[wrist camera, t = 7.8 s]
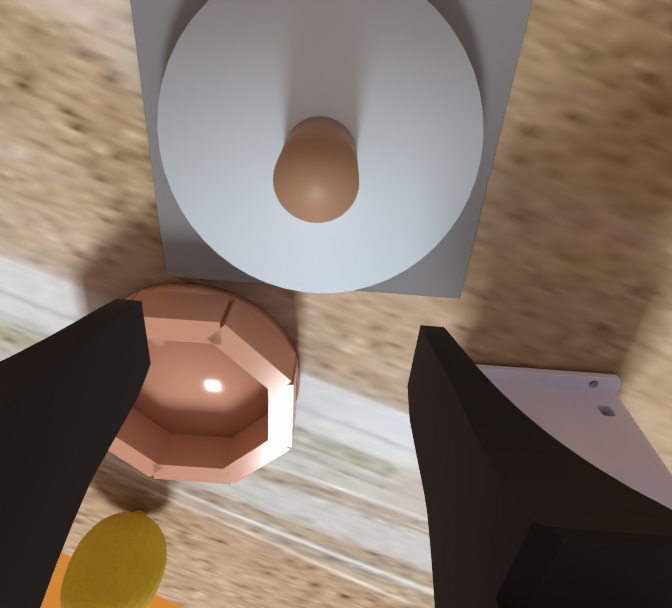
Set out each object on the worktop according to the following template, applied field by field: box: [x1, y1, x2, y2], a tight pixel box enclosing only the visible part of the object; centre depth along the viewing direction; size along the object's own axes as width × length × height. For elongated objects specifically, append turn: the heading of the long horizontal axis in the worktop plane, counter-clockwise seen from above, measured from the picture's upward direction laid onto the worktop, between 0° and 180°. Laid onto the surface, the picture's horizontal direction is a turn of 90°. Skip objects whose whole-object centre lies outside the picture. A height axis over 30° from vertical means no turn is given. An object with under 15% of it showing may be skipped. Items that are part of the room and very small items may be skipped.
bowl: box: [108, 283, 300, 484], centre depth 25 cm, size 11×11×3 cm
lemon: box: [60, 510, 167, 608], centre depth 30 cm, size 6×6×8 cm
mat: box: [130, 0, 532, 298], centre depth 19 cm, size 14×14×1 cm
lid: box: [157, 0, 483, 293], centre depth 18 cm, size 12×12×4 cm
